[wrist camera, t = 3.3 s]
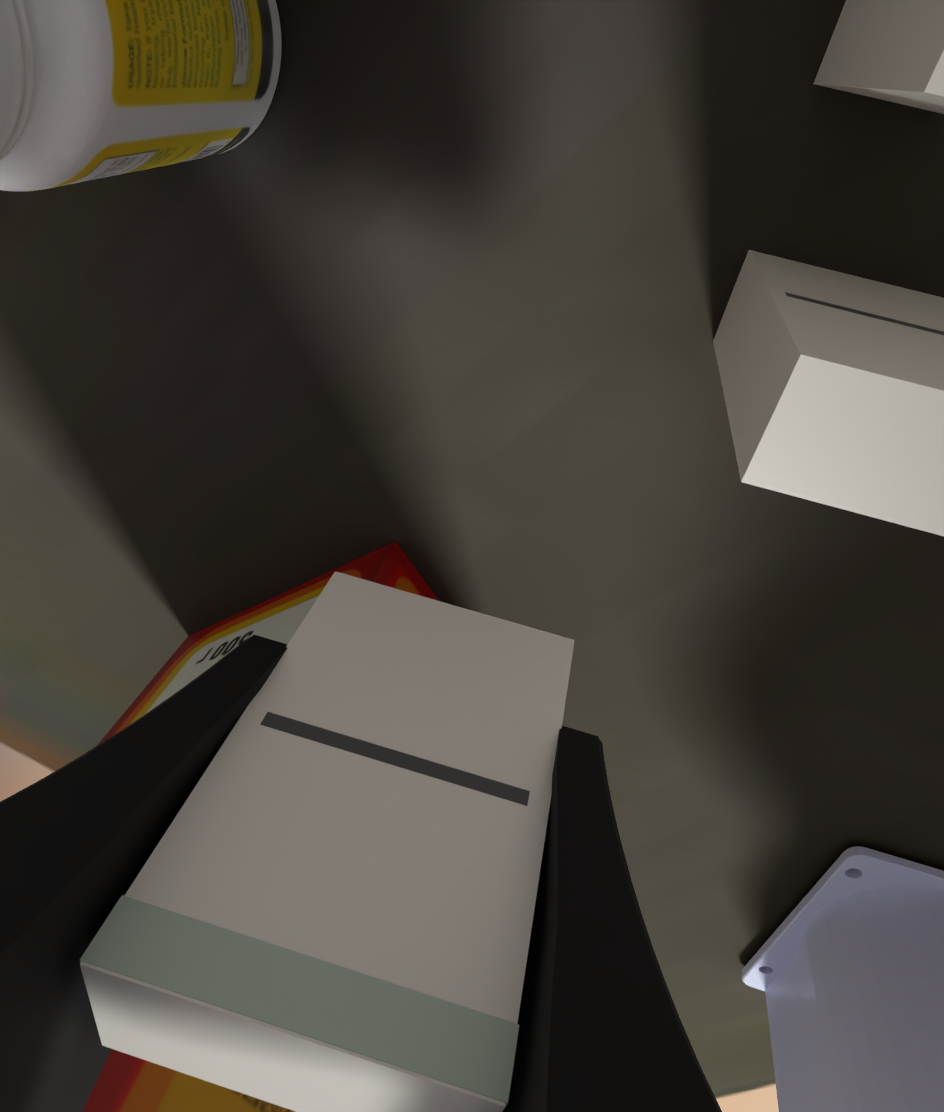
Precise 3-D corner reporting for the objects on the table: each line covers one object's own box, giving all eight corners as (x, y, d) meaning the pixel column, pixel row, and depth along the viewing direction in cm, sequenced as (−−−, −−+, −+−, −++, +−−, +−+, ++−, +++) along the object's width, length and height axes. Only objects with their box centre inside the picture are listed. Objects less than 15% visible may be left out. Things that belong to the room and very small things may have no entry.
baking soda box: (301, 756, 28) (-6, 1342, 15) (188, 635, 26) (-292, 1210, 13) (506, 692, 24) (324, 1429, 11) (395, 540, 22) (-9, 1256, 9)
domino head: (547, 717, 14) (469, 1171, 8) (326, 652, 14) (100, 1045, 8) (575, 639, 13) (507, 1106, 7) (333, 570, 13) (76, 963, 7)
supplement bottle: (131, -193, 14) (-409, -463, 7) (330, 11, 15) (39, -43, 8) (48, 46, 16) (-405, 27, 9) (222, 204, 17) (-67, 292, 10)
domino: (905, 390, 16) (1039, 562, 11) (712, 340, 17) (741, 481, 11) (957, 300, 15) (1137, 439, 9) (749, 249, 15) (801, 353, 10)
